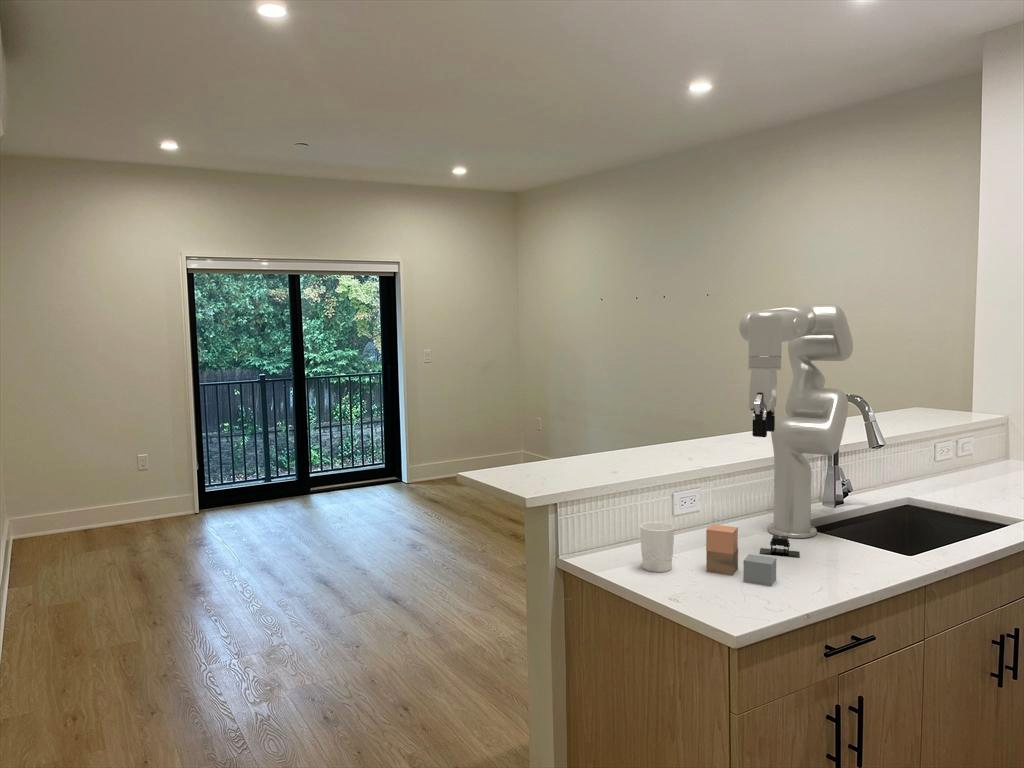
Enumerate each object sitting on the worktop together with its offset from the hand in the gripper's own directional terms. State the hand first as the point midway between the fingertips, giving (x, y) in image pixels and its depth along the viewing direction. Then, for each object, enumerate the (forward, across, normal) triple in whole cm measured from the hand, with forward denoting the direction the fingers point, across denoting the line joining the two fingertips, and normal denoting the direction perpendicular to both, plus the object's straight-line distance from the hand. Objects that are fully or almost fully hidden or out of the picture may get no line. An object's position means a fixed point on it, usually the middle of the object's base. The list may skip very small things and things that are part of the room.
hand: (763, 433), depth 179 cm
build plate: (+31, -5, +3) cm, 32 cm away
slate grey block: (+30, +18, +3) cm, 35 cm away
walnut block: (+30, +15, -6) cm, 34 cm away
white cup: (+31, +20, -20) cm, 42 cm away
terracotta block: (+25, +15, -6) cm, 30 cm away
